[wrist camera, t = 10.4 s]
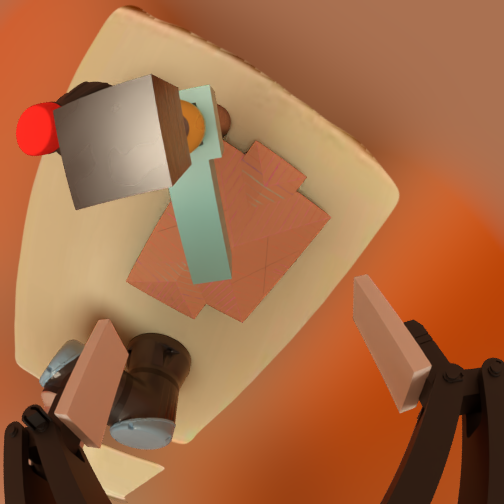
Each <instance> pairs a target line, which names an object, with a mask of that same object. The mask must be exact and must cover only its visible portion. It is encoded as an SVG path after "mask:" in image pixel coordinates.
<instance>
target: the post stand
mask: <svg viewBox="0 0 504 504" xmlns="http://www.w3.org/2000/svg"><path fill="white" fill-rule="evenodd" d="M217 109H218V115H219V121H220V127H221V133H222V138H223V137H224V136H225V135H226V134H227V132H228V130H229V128H230V124H231V120H230V116H229V114H228V112H227V111H226V110H225V109H224V108H223V107H222V106H220V105H217ZM53 115H54V121H55V126H56V132H57V137H58V142H59V147H60V152H61V156H62V161H63V165H64V169H65V173H66V177H67V181H68V185H69V188H70V192H71V196H72V199H73V203H74V206H75V209H76V210H79V209H82V208H86V207H90V206H93V205H97V204H101V203H105V202H109V201H113V200H117V199H121V198H125V197H129V196H133V195H138V194H142V193H146V192H151V191H155V190H160V189H165V188H169V187H173V186H174V184H175V183H176V182H177V181H178V180H179V178H180V177H181V176H182V175H183V174H184V173H185V172H186V170H187V169H188V168H189V167H190V166H191V165H192V162H191V157H190V153H192V152H193V151H194V150H195V149H196V148H197V147H198V146H199V145H200V144H201V142H202V141H203V138H204V136H205V132H206V122H205V119H204V116H203V114H202V112H201V111H200V110H199V109H198V108H197V107H196V106H195V105H193V104H192V103H189V102H187V101H184V100H180V96H179V90H178V87H176V86H174V85H172V84H170V83H168V82H166V81H164V80H162V79H160V78H158V77H156V76H154V75H152V74H149V75H146V76H142V77H139V78H136V79H133V80H129V81H126V82H123V83H120V84H117V85H114V86H111V87H109V88H106V89H103V90H100V91H98V92H95V93H92V94H90V95H87V96H85V97H82V98H80V99H77V100H75V101H73V102H70V103H68V104H66V105H64V106H61V107H59V108H57V109H55V110H53Z"/></svg>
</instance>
